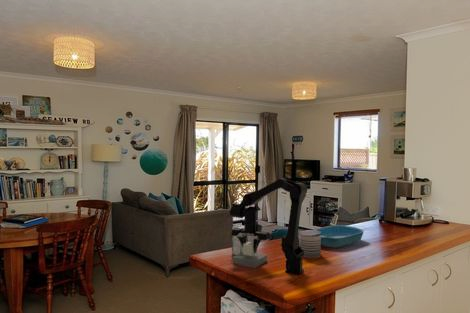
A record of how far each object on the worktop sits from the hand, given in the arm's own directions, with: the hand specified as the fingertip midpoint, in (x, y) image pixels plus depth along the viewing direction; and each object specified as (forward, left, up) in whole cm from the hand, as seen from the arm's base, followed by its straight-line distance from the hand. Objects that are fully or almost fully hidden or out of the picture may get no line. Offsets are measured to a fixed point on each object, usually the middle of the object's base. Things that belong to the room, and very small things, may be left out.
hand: (250, 251), depth 170 cm
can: (-20, -28, -5) cm, 35 cm away
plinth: (0, 0, -5) cm, 5 cm away
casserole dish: (-25, -62, -6) cm, 67 cm away
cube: (0, 0, -1) cm, 1 cm away
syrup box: (+11, -9, -5) cm, 15 cm away
